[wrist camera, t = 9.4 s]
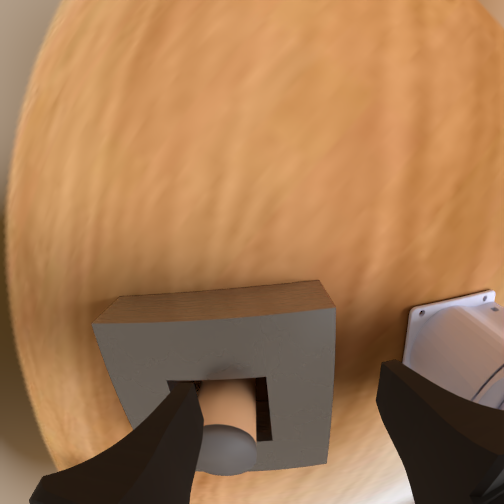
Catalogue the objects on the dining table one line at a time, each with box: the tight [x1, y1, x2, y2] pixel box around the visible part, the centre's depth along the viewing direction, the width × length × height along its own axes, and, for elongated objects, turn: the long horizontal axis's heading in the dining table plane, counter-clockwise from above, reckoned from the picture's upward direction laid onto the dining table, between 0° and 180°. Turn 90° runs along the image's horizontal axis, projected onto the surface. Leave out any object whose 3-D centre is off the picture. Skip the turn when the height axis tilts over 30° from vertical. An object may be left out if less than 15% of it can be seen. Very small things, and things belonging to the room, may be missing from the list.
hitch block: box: [91, 280, 336, 471], centre depth 19 cm, size 14×14×4 cm
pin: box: [196, 378, 257, 476], centre depth 18 cm, size 4×4×8 cm
